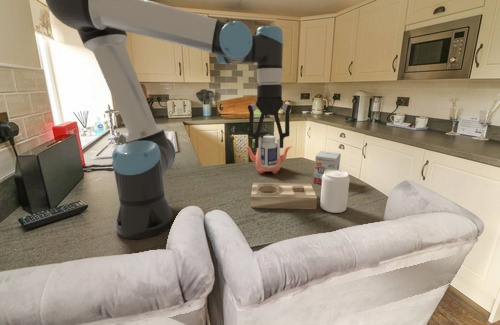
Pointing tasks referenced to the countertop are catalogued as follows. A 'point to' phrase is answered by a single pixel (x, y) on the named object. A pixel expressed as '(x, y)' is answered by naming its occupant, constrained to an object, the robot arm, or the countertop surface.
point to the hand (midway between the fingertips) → (269, 157)
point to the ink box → (325, 164)
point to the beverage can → (334, 191)
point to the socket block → (283, 196)
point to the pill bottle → (269, 152)
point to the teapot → (262, 169)
